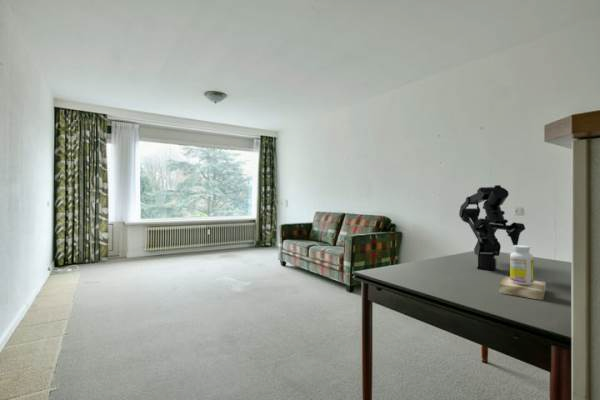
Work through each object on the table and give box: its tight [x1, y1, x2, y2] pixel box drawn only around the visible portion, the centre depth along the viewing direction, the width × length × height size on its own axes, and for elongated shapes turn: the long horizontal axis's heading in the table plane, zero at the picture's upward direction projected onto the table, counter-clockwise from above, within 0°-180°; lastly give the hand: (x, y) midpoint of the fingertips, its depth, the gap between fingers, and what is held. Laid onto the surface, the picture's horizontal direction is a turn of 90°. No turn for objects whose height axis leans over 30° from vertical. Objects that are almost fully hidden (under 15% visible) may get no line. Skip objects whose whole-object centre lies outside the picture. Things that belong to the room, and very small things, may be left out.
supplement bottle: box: [509, 244, 534, 285], centre depth 110 cm, size 7×7×13 cm
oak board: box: [498, 276, 547, 301], centre depth 110 cm, size 12×12×3 cm
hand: (504, 245), depth 125 cm, fingers open, 9 cm apart
